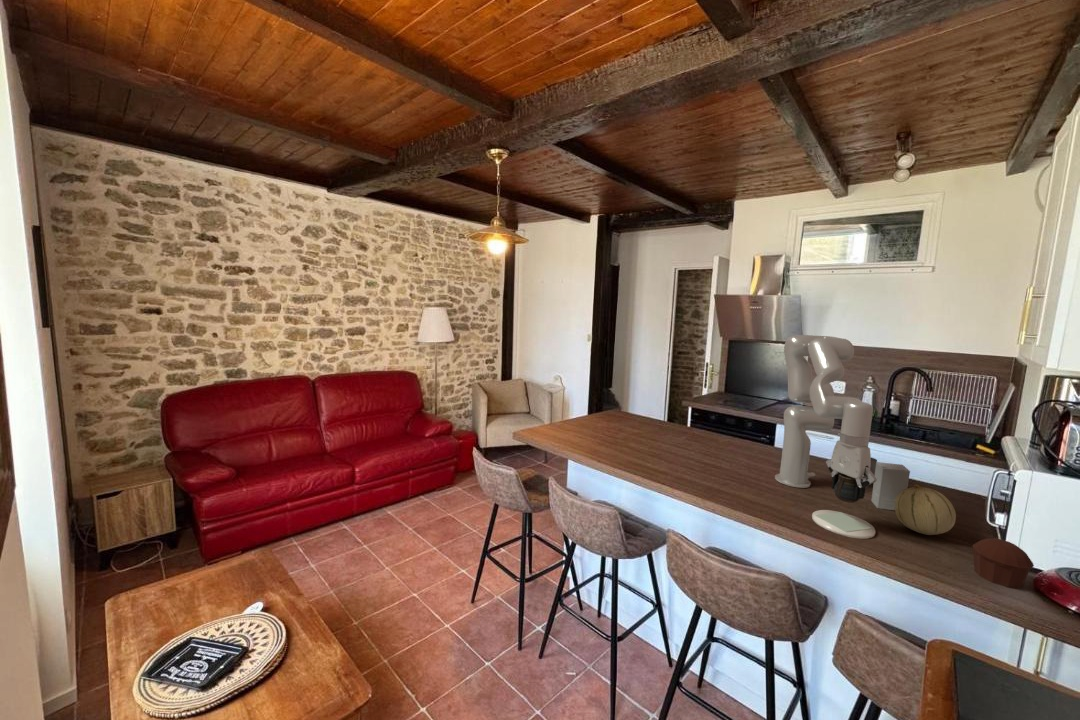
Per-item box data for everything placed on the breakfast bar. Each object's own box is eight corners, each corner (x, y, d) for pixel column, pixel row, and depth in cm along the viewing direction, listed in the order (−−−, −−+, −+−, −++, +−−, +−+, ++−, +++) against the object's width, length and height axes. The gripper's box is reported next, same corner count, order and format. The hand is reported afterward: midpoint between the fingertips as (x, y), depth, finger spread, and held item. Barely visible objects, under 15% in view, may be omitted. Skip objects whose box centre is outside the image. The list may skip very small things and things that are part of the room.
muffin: (1032, 598, 109) (1040, 560, 107) (970, 578, 116) (976, 543, 115) (1024, 577, 117) (1031, 542, 116) (967, 560, 125) (973, 527, 123)
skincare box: (896, 505, 160) (902, 463, 158) (905, 513, 153) (912, 470, 151) (869, 501, 163) (875, 460, 161) (876, 509, 156) (883, 466, 154)
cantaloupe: (957, 549, 130) (965, 501, 129) (895, 534, 138) (902, 489, 136) (944, 529, 143) (952, 485, 141) (888, 516, 151) (894, 474, 149)
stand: (837, 510, 153) (838, 507, 153) (888, 535, 137) (889, 531, 137) (800, 515, 148) (800, 511, 148) (847, 541, 132) (848, 537, 132)
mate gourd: (848, 505, 137) (851, 475, 136) (826, 496, 144) (829, 466, 143) (865, 503, 139) (869, 473, 138) (843, 494, 146) (846, 465, 145)
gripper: (820, 433, 146) (814, 483, 148) (872, 449, 130) (865, 506, 132) (837, 432, 149) (831, 482, 151) (891, 448, 132) (883, 504, 134)
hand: (847, 492), depth 141 cm, fingers closed on mate gourd, 7 cm apart
